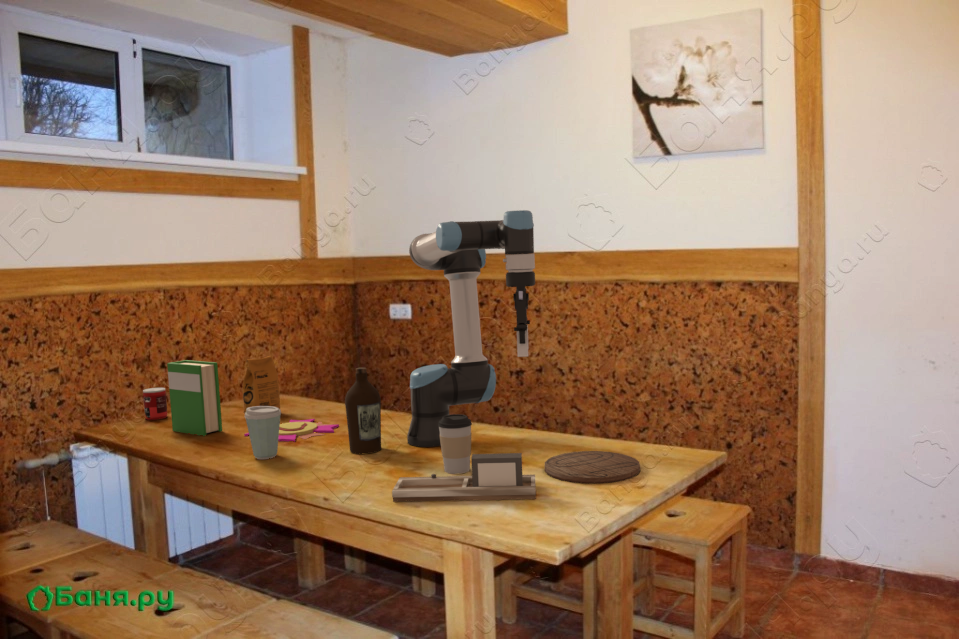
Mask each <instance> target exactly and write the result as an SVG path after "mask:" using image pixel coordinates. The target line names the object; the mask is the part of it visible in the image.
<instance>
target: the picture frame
mask: <svg viewBox="0 0 959 639" xmlns="http://www.w3.org/2000/svg"><path fill="white" fill-rule="evenodd" d="M522 454H523V453H522V452H513V453H511V452H508V453H506V452H505V453H473V454H472V453H471V457H470V464H471V476H472V486H473V487H497V486H523V477H522V475H523V456H522Z"/></svg>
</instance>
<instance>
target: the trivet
mask: <svg viewBox="0 0 959 639" xmlns="http://www.w3.org/2000/svg"><path fill="white" fill-rule="evenodd" d="M640 472H641V462H640V461H639V459H636V457H632V456H631V455H628V454H623V453H619V452H612V451H604V450H602V451H601V450H584V451H572V452H564V453H560V454H557V455H553V456H552V457H550V458H547V460H545V461H544V473H545V474H546V475H547V476H549V477H551V478H552V479H556V480H558V481H561V482H562V481H563V482H566V483H571V484H583V485H590V484H591V485H592V484H593V485H601V484H612V483H613V484H614V483H618V482H624V481H626V480H629V479H633V478H635V477H636V476H637V475H639V474H640Z"/></svg>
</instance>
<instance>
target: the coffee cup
mask: <svg viewBox="0 0 959 639" xmlns="http://www.w3.org/2000/svg"><path fill="white" fill-rule="evenodd" d="M472 425H473V423H472V420H471V419H470V418H469V417H468V415H466V414H461V413H460V414H459V413H458V414H457V413H455V414H454V413H453V414H449V415H446V416H443V417H442V420H440V421H439V425H438V426H439V430H440V443H441V446H440V449H441V456H442V463H443V468H444V469H443V470H444V471H443V472H445V473H447V474H452V475H458V474H464V473H465V474H466V473H468V472H469V471H470V469H471V456H472Z"/></svg>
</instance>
